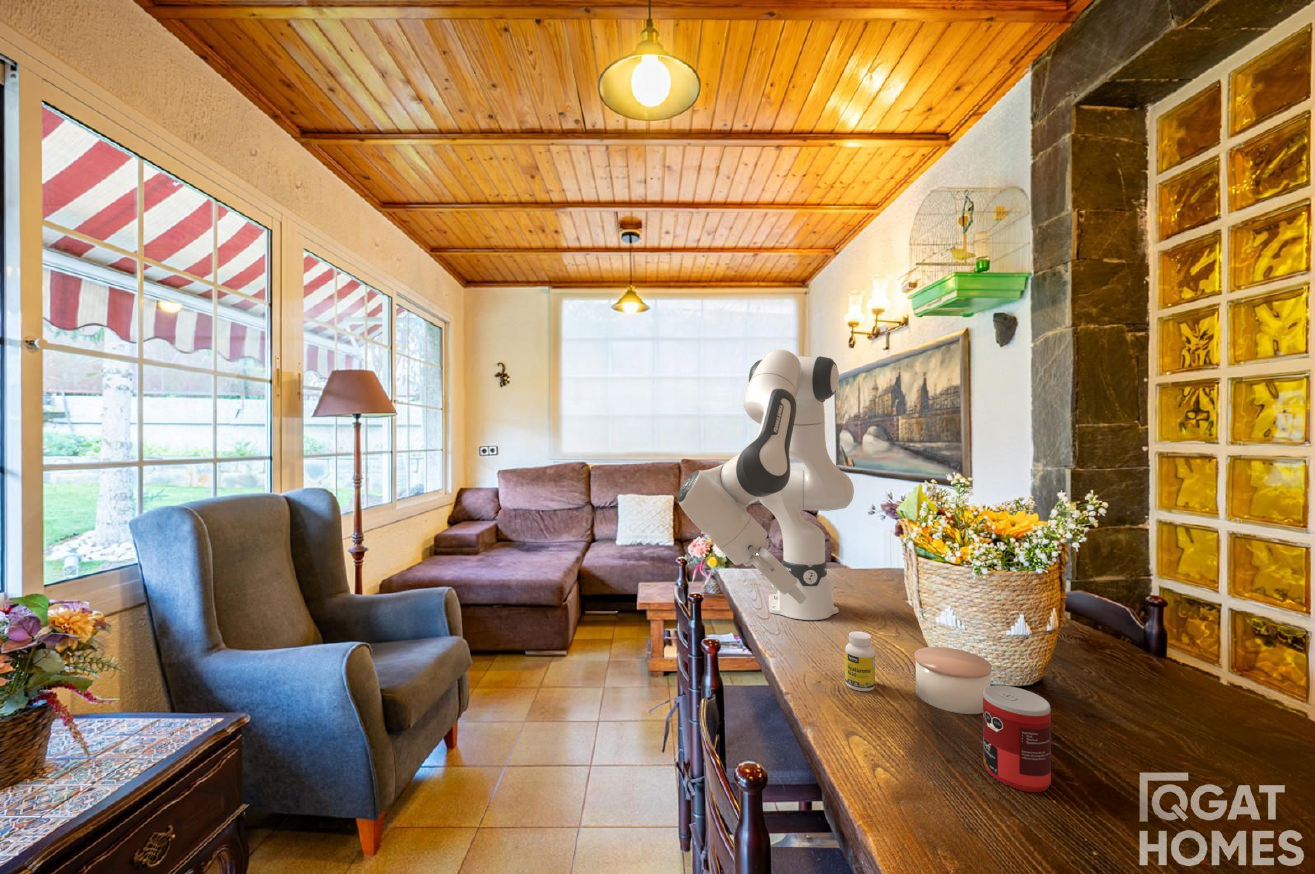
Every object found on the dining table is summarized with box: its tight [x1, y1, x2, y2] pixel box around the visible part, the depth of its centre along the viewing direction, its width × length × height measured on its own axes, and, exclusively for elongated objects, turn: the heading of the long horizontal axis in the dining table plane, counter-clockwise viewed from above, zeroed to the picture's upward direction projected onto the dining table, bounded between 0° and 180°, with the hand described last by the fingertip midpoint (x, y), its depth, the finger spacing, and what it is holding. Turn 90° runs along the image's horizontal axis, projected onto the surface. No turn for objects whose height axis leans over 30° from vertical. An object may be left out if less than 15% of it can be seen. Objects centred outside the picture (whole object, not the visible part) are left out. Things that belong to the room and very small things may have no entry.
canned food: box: [982, 684, 1052, 793], centre depth 76 cm, size 8×8×11 cm
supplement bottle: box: [844, 630, 876, 692], centre depth 104 cm, size 5×5×10 cm
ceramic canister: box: [914, 646, 993, 715], centre depth 99 cm, size 12×12×7 cm
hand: (795, 593), depth 103 cm, fingers open, 8 cm apart
